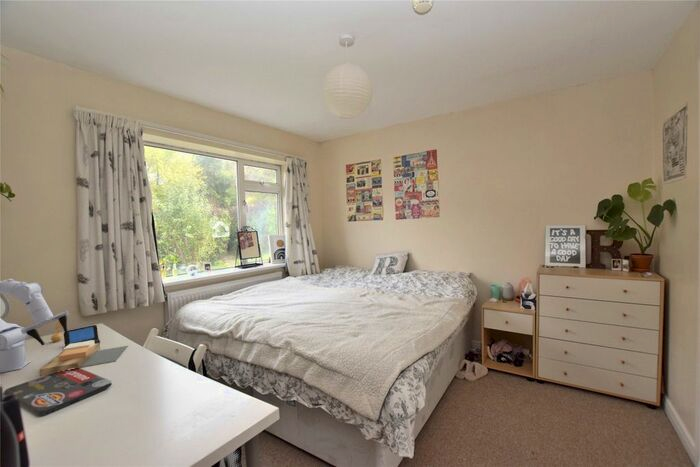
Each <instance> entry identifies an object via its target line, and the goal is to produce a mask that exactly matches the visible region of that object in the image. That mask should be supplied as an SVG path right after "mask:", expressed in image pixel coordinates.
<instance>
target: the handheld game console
mask: <svg viewBox="0 0 700 467" xmlns="http://www.w3.org/2000/svg"><path fill="white" fill-rule="evenodd" d="M67 331H68V333H69V334H67V335H66V334H65V331H64V332H63V341H64V342H63V343H64V348H65V347H66V346H68V345H69V344H73V343H79V342H85V341H92V340H94V343H95V344H96V343H101V342H100V341H101V340H100V339H99V333H98V326H97V325H96V324H93V325H88V326H83V327H79V328H73V329H69V330H68V329H67Z"/></svg>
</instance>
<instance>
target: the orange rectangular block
mask: <svg viewBox="0 0 700 467" xmlns="http://www.w3.org/2000/svg"><path fill="white" fill-rule="evenodd" d="M91 351H92V347H85V348H79V349H73V350H67V351H64V352H63V351H62V352H63V353H62V354H61V355H59V354H58V355H59V356H58V359H59V361H62V360H68V359H74V358H80V357H86V356H87V355H88V354H89V353H90V352H91Z"/></svg>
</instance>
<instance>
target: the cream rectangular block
mask: <svg viewBox="0 0 700 467" xmlns="http://www.w3.org/2000/svg"><path fill="white" fill-rule="evenodd" d="M94 344H95V343H94V340H92V341H85V342H79V343H73V344H69V345H68V346H66V347H65V346H64V348H63V349H62V352H64V351H67V350H73V349H79V348H85V347H92V346H93V345H94Z"/></svg>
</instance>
